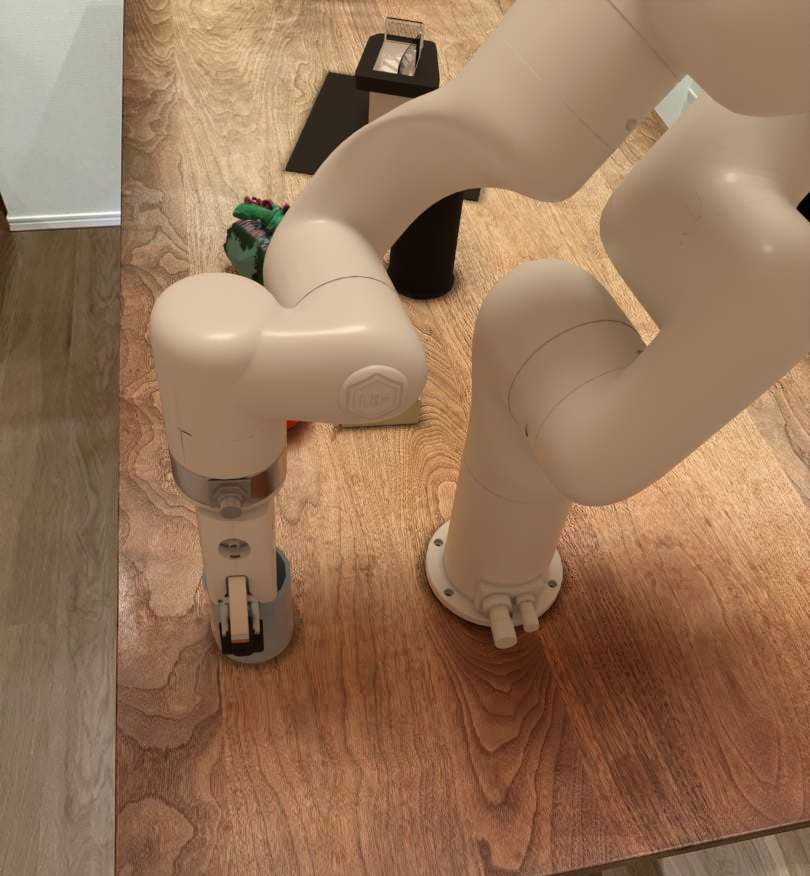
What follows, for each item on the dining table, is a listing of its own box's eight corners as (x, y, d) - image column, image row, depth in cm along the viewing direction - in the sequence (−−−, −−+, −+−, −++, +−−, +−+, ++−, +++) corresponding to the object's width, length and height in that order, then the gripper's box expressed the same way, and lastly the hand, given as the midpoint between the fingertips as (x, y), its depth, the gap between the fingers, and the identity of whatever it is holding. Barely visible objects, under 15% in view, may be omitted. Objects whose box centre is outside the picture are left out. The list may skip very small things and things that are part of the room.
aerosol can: (447, 305, 103) (470, 142, 87) (379, 292, 103) (389, 128, 87) (459, 264, 108) (482, 102, 92) (394, 251, 108) (406, 89, 92)
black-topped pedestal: (478, 201, 116) (493, 101, 106) (284, 170, 117) (281, 68, 106) (497, 99, 133) (513, 4, 122) (328, 72, 134) (329, -25, 123)
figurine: (298, 295, 94) (392, 236, 101) (230, 189, 91) (332, 136, 98) (256, 328, 105) (344, 273, 112) (193, 235, 102) (288, 184, 109)
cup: (296, 659, 74) (293, 606, 67) (214, 667, 73) (202, 613, 66) (290, 592, 78) (287, 535, 71) (212, 598, 77) (201, 541, 70)
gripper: (296, 559, 53) (295, 690, 66) (278, 364, 63) (280, 512, 77) (168, 566, 52) (194, 698, 65) (171, 366, 62) (193, 516, 75)
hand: (241, 598), depth 71 cm, fingers open, 9 cm apart
